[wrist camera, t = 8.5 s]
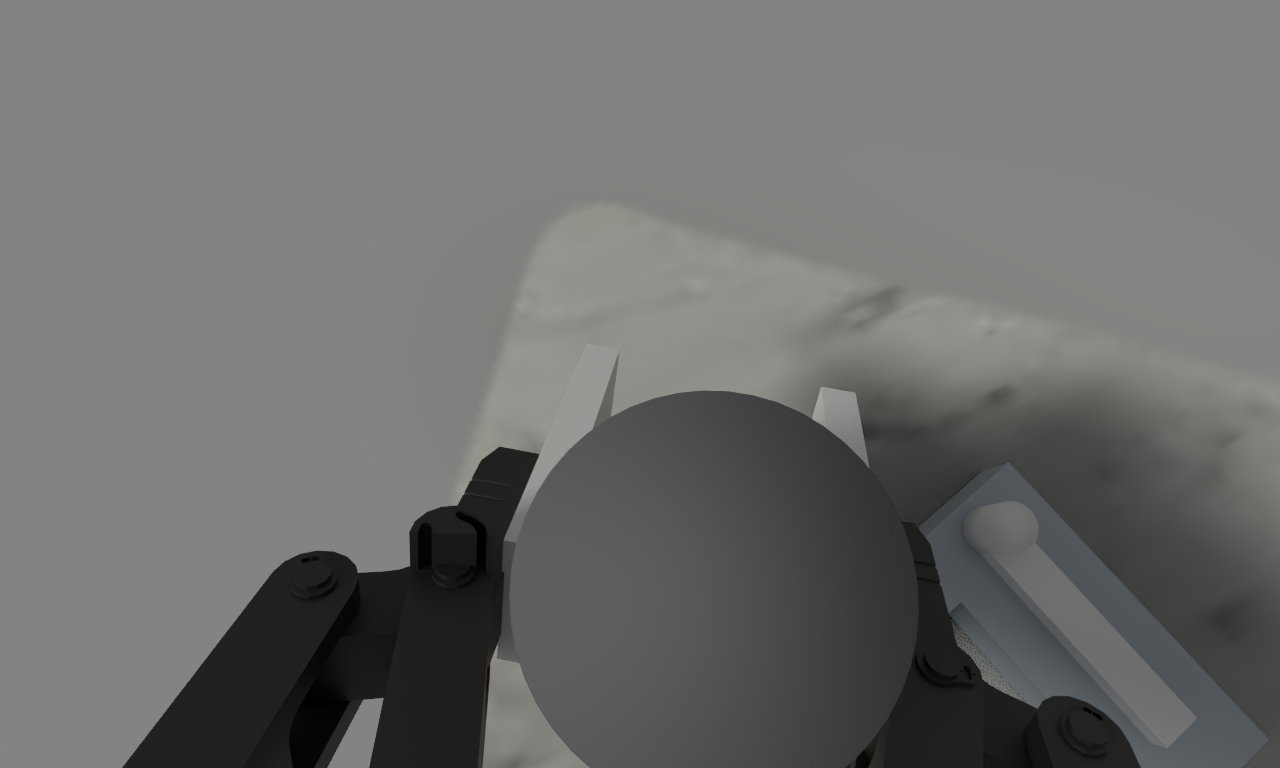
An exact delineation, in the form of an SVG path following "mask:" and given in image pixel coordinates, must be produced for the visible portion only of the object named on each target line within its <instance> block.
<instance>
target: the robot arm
mask: <svg viewBox="0 0 1280 768" xmlns="http://www.w3.org/2000/svg"><path fill="white" fill-rule="evenodd" d="M618 358H619V350H618V349H613V348H607V347H602V346H596V345H591V344H586V346H585V348H584V351H583V353H582V355H581V358H580V360H579V363H578V365H577V367H576V370H575V372H574V374H573V377H572V379H571V381H570V384H569V386H568V389H567V391H566V393H565V396H564V398H563V400H562V403H561V405H560V408H559V410H558V412H557V415H556V417H555V419H554V422H553V424H552V426H551V429H550V431H549V434H548V436H547V438H546V441H545V443H544V445H543V448H542V450H541V453H540V454H536V453H530V452H525V451H520V450H515V449H509V448H504V447H499V448H497V449H496V450H495V451H493V452H492V453H490V454H489V455H488V456H486V457H485V458H484V459H482V460H481V462H480V464H479V466H478V468H477V470H476V472H475V473H474V475H473V477H472V481H470V483H469V485H468V487H467V489H466V491H465V494H464V495H463V496H462V498H461V500H460V502H459V504H458V506H447V507H440V508H437V509H434V510H432V511H429V512H426V513H425V514H424V515H423V516H421V517H420V518H419V519H417V520H416V521H415V523H414V525H413V526H412V528H411V530H410V532H409V534H410V566H409V567H406V568H403V569H400V570H393V571H385V572H368V573H358V572H357V568H356V565H355V564H354V563H353V562H352V561H351V560H350V559H349V558H348V557H346V556H344V555H341V554H338V553H336V552H330V551H313V552H309V553H303V554H300V555H297V556H295V557H293V558H291V559H289V560H287V561H285V562H284V563H282V565H280V566H279V567H278V568H277V569H276V570H275V571H274V572H273V573H272V574H271V575H270V576H269V578H268V579H267V580H266V582H265V583H264V584H263V586H262V587H261V588H260V589H259V591H258V592H257V594H256V595H255V596H254V597H253V599H252V600H251V601H250V603H249V604H248V605H247V607H246V608H245V609H244V610H243V612H242V613H241V614H240V616H239V617H238V618H237V620H236V621H235V622H234V623H233V625H232V626H231V627H230V629H229V630H228V631H227V632H226V634H225V635H224V636H223V638H222V639H221V640H220V642H219V643H218V644H217V645H216V647H215V648H214V649H213V651H212V652H211V653H210V655H209V656H208V657H207V659H206V660H205V661H204V662H203V664H202V665H201V666H200V668H199V669H198V670H197V671H196V673H195V674H194V675H193V677H192V678H191V679H190V681H189V682H188V683H187V684H186V686H185V687H184V688H183V690H182V691H181V692H180V693H179V695H178V696H177V698H176V699H175V700H174V701H173V703H172V704H171V705H170V707H169V708H168V709H167V711H166V712H165V713H164V714H163V716H162V717H161V718H160V720H159V721H158V722H157V723H156V725H155V726H154V727H153V729H152V730H151V731H150V733H149V734H148V735H147V736H146V738H145V739H144V740H143V742H142V743H141V744H140V745H139V747H138V748H137V749H136V751H135V752H134V753H133V755H132V756H131V757H130V758H129V760H128V761H127V763H126V764H125V765H124V766H123V768H327V767H328V765H329V763H330V761H331V759H332V757H333V756H334V754H335V752H336V750H337V748H338V746H339V744H340V742H341V740H342V739H343V737H344V735H345V733H346V731H347V729H348V727H349V725H350V723H351V721H352V720H353V718H354V716H355V714H356V712H357V710H358V708H359V706H360V704H361V703H362V701H363V699H374V698H384V700H383V705H382V710H381V714H380V719H379V724H378V729H377V733H376V738H375V743H374V748H373V752H372V757H371V762H370V767H369V768H482V765H483V753H484V741H485V729H486V716H487V704H488V692H489V680H490V662H491V659H492V657H493V654H494V651H495V648H496V646H497V643H498V652H497V658H498V659H503V660H508V661H513V662H518V663H520V662H519V659H518V656H517V653H516V649H515V643H514V638H513V632H512V627H511V617H510V599H509V593H510V579H511V567H512V562H513V557H514V552H515V547H516V542H517V539H518V536H519V533H520V530H521V527H522V524H523V521H524V518H525V516H526V513H527V511H528V509H529V507H530V505H531V503H532V501H533V499H534V497H535V495H536V493H537V491H538V490H539V488H540V487H541V485H542V484H543V482H544V480H545V479H546V477H547V476H548V474H549V473H550V471H551V470H552V469H553V468H554V466H555V465H556V464H557V463H558V462H559V461H560V459H561V458H562V457H563V456H564V455H565V454H566V452H567V451H568V450H569V449H570V448H571V447H573V446H574V445H575V444H576V443H577V442H578V441H579V440H580V439H581V438H582V437H584V436H585V435H586V434H587V433H588V432H590V431H591V430H593V429H594V428H595V427H597V426H598V425H600V424H601V423H603V422H604V421H606V420H607V419H609V418H610V417H611V410H612V403H613V395H614V388H615V380H616V373H617V365H618ZM812 420H814V421H816V422H818V423H819V424H821V425H823V426H824V427H825V428H827V429H828V430H829V431H831V432H832V433H833V434H834V435H836V436H837V437H838V438H840V439H841V440H842V441H844V442H845V443H846V444H847V445H848V446H849V447H850V448H851V449H852V450H853V451H854V452H855V453H856V454H857V455H858V456H859V457H860V458H861V459H862V460H863V461H864V462H865V464H866V465H867V466H868V468H869V463H868V457H867V452H866V447H865V441H864V436H863V431H862V425H861V420H860V414H859V409H858V404H857V398H856V393H854V392H849V391H843V390H838V389H832V388H827V387H821V389H820V393H819V396H818V400H817V403H816V406H815V410H814V413H813V417H812ZM869 469H870V468H869ZM901 522H902V521H901ZM902 525H903V527H904V529H905V532H906V536H907V539H908V542H909V545H910V549H911V552H912V555H913V560H914V566H915V572H916V577H917V584H918V604H919V614H918V627H917V639H916V644H915V648H914V653H913V658H912V662H911V667H910V669H909V672H908V675H907V678H906V681H905V684H904V686H903V689H902V692H901V694H900V696H899V698H898V700H897V702H896V704H895V706H894V708H893V710H892V712H891V714H890V715H889V717H888V719H887V720H886V722H885V723H884V725H883V726H882V727H881V729H880V730H879V732H878V733H877V735H876V736H875V737H874V739H873V740H872V741H871V742H870V744H869V745H868V746H867V747H866V748H865V749H864V750H863V751H862V752H861V753H860V754H859V755H858V756H857V757H856V759H855V760H854V761H853V762H851V763H850V764H849V765H848V766H846V768H1141V767H1140V765H1139V763H1138V760H1137V758H1136V756H1135V754H1134V751H1133V749H1132V747H1131V745H1130V743H1129V741H1128V740H1127V738H1126V736H1125V735H1124V733H1123V732H1122V730H1121V729H1120V727H1119V726H1118V725H1117V724H1116V723H1115V722H1114V721H1112V720H1111V719H1110V718H1109V717H1108V716H1107V715H1106V714H1105V713H1104V712H1102V711H1101V710H1099V709H1097V708H1096V707H1094V706H1092V705H1091V704H1089V703H1087V702H1085V701H1082V700H1079V699H1076V698H1073V697H1070V696H1052V697H1050V698H1048V699H1046V700H1043V701H1042V702H1041V704H1040V706H1039V707H1038V709H1037V708H1035V707H1033V706H1031V705H1029V704H1027V703H1024V702H1022V701H1020V700H1018V699H1016V698H1014V697H1011V696H1009V695H1007V694H1005V693H1003V692H1001V691H999V690H997V689H996V688H994V687H992V686H990V685H989V684H988V683H986V682H985V681H984V680H982V676H981V672H980V670H979V668H978V667H977V666H976V664H975V663H974V661H973V660H972V658H971V657H970V656H969V655H967V654H966V653H965V652H964V651H963V650H962V649H960V648H959V647H958V646H957V644H956V640H955V636H954V632H953V628H952V625H951V621H950V617H949V613H948V609H947V605H946V602H945V598H944V594H943V590H942V586H940V579H939V575H938V571H937V569H935V566H936V563H935V559H934V556H933V552H932V548H931V544H930V543H929V542H928V540H927V539H926V538H925V536H924V535H923V534H922V532H921V531H920V530H919V528H918V527H917V526H916V525H915V524H913V523H908V522H902Z"/></svg>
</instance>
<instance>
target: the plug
mask: <svg viewBox="0 0 1280 768" xmlns="http://www.w3.org/2000/svg"><path fill="white" fill-rule="evenodd" d="M509 599H510V617H511V627H512V632H513V638H514V643H515V649H516V653H517V656H518V659H519V662H520V665H521V669H522V672H523V675H524V678H525V680H526V682H527V684H528V687H529V689H530V691H531V693H532V695H533V697H534V699H535V702H536V704H537V705H538V707H539V708H540V710H541V712H542V713H543V715H544V716H545V718H546V719H547V721H548V723H549V724H550V726H551V727H552V729H553V730H554V731H555V732H556V733H557V735H558V736H559V737H560V738H561V739H562V740H563V742H564V743H565V744H566V745H567V746H568V748H569V749H570V750H571V751H572V752H573V753H574V754H575V755H577V756H578V757H579V758H580V759H581V760H582V761H583V762H584V763H585V764H586V765H588V766H589V767H590V768H845V767H846V766H848V765H849V764H850V763H851V762H853V761H854V760H855V759H856V757H857V756H858V755H859V754H860V753H861V752H862V751H863V750H864V749H865V748H866V747H867V746H868V745H869V744H870V742H871V741H872V740H873V739H874V737H875V736H876V735H877V733H878V732H879V730H880V729H881V727H882V726H883V725H884V723H885V722H886V720H887V719H888V717H889V715H890V714H891V712H892V710H893V708H894V706H895V704H896V702H897V700H898V698H899V696H900V694H901V692H902V689H903V686H904V684H905V681H906V678H907V675H908V672H909V669H910V667H911V662H912V658H913V653H914V648H915V644H916V639H917V627H918V614H919V604H918V584H917V577H916V572H915V566H914V560H913V555H912V552H911V549H910V545H909V542H908V539H907V536H906V532H905V529H904V527H903V525H902V522H901V520H900V518H899V516H898V514H897V511H896V509H895V507H894V505H893V503H892V501H891V500H890V498H889V496H888V495H887V493H886V491H885V490H884V488H883V486H882V485H881V483H880V482H879V480H878V479H877V478H876V476H875V475H874V474H873V473H872V471H871V470H870V469H869V468H868V466H867V465H866V464H865V462H864V461H863V460H862V459H861V458H860V457H859V456H858V455H857V454H856V453H855V452H854V451H853V450H852V449H851V448H850V447H849V446H848V445H847V444H846V443H845V442H844V441H842V440H841V439H840V438H838V437H837V436H836V435H834V434H833V433H832V432H831V431H829V430H828V429H827V428H825V427H824V426H823V425H821V424H819V423H818V422H816V421H814V420H812V419H811V418H809V417H807V416H806V415H804V414H802V413H800V412H798V411H796V410H793V409H791V408H789V407H787V406H784V405H782V404H780V403H777V402H774V401H770V400H767V399H764V398H760V397H757V396H753V395H747V394H741V393H735V392H728V391H695V392H684V393H676V394H672V395H668V396H663V397H659V398H654V399H651V400H649V401H646V402H643V403H640V404H638V405H635V406H632V407H630V408H628V409H626V410H624V411H622V412H620V413H618V414H616V415H614V416H612V417H610V418H609V419H607V420H606V421H604V422H603V423H601V424H600V425H598V426H597V427H595V428H594V429H593V430H591V431H590V432H588V433H587V434H586V435H585V436H584V437H582V438H581V439H580V440H579V441H578V442H577V443H576V444H575V445H574V446H573V447H571V448H570V449H569V450H568V451H567V452H566V454H565V455H564V456H563V457H562V458H561V459H560V461H559V462H558V463H557V464H556V465H555V466H554V468H553V469H552V470H551V471H550V473H549V474H548V476H547V477H546V479H545V480H544V482H543V484H542V485H541V487H540V488H539V490H538V491H537V493H536V495H535V497H534V499H533V501H532V503H531V505H530V507H529V509H528V511H527V513H526V516H525V518H524V521H523V524H522V527H521V530H520V533H519V536H518V539H517V542H516V547H515V552H514V557H513V562H512V567H511V579H510V593H509Z"/></svg>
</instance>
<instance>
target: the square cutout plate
mask: <svg viewBox="0 0 1280 768" xmlns="http://www.w3.org/2000/svg"><path fill="white" fill-rule="evenodd" d="M918 528H919V530H920V531H921V532H922V534H923V535H924V536H925V538H926V539H927V540H928V542H929V543H930V544H931V548H932V552H933V556H934V559H935V563H936V566H935V569H937V571H938V575H939V579H940V586H942V590H943V594H944V598H945V602H946V605H947V609H948V613H949V615H950V616H951V617H952V619H953V620H954V621H955V622H956V623H957V624H958V625H959V627H960V628H961V629H962V630H963V631H964V632H965V633H966V635H967V636H968V637H969V638H970V639H971V640H972V641H973V643H974V644H975V645H976V646H977V647H978V648H979V649H980V650H981V652H982V653H983V654H984V655H985V656H986V657H987V658H988V660H989V661H990V662H991V663H992V664H993V665H994V666H995V668H996V669H997V670H998V671H999V672H1000V673H1001V674H1002V676H1003V677H1004V678H1005V679H1006V680H1007V681H1008V682H1009V684H1010V685H1011V686H1012V687H1013V688H1014V689H1015V690H1016V692H1017V693H1018V694H1019V695H1020V696H1021V697H1022V698H1023V700H1024V701H1025V702H1026V703H1027V704H1029V705H1031V706H1033V707H1035V708H1037V709H1038V707H1039V706H1040V704H1041V702H1042V701H1043V700H1046V699H1048V698H1050V697H1052V696H1070V697H1073V698H1076V699H1079V700H1082V701H1085V702H1087V703H1089V704H1091V705H1092V706H1094V707H1096V708H1097V709H1099V710H1101V711H1102V712H1104V713H1105V714H1106V715H1107V716H1108V717H1109V718H1110V719H1111V720H1112V721H1114V722H1115V723H1116V724H1117V725H1118V726H1119V727H1120V729H1121V730H1122V732H1123V733H1124V735H1125V736H1126V738H1127V740H1128V741H1129V743H1130V745H1131V747H1132V749H1133V751H1134V754H1135V756H1136V758H1137V760H1138V763H1139V765H1140V767H1141V768H1243V767H1244V766H1245V765H1246V764H1247V763H1248V762H1249V761H1250V760H1251V759H1252V758H1253V757H1254V756H1255V755H1256V753H1257V752H1258V751H1259V750H1260V749H1261V748H1262V747H1263V746H1264V745H1265V744H1266V743H1267V742H1268V741H1269V739H1268V737H1267V736H1266V735H1265V734H1264V733H1263V732H1262V731H1261V730H1260V729H1259V728H1258V727H1257V726H1256V725H1255V724H1254V723H1253V722H1252V720H1251V719H1250V718H1249V717H1248V716H1247V715H1246V714H1245V713H1244V712H1243V711H1242V710H1241V709H1240V708H1239V707H1238V706H1237V704H1236V703H1235V702H1234V701H1233V700H1232V699H1231V698H1230V697H1229V696H1228V695H1227V694H1226V693H1225V692H1224V691H1223V690H1222V688H1221V687H1220V686H1219V685H1218V684H1217V683H1216V682H1215V681H1214V680H1213V679H1212V678H1211V677H1210V676H1209V675H1208V674H1207V672H1206V671H1205V670H1204V669H1203V668H1202V667H1201V666H1200V665H1199V664H1198V663H1197V662H1196V661H1195V660H1194V659H1193V658H1192V656H1191V655H1190V654H1189V653H1188V652H1187V651H1186V650H1185V649H1184V648H1183V647H1182V646H1181V645H1180V644H1179V643H1178V642H1177V641H1176V639H1175V638H1174V637H1173V636H1172V635H1171V634H1170V633H1169V632H1168V631H1167V630H1166V629H1165V628H1164V627H1163V626H1162V625H1161V623H1160V622H1159V621H1158V620H1157V619H1156V618H1155V617H1154V616H1153V615H1152V614H1151V613H1150V612H1149V611H1148V610H1147V609H1146V607H1145V606H1144V605H1143V604H1142V603H1141V602H1140V601H1139V600H1138V599H1137V598H1136V597H1135V596H1134V595H1133V594H1132V593H1131V591H1130V590H1129V589H1128V588H1127V587H1126V586H1125V585H1124V584H1123V583H1122V582H1121V581H1120V580H1119V579H1118V578H1117V577H1116V575H1115V574H1114V573H1113V572H1112V571H1111V570H1110V569H1109V568H1108V567H1107V566H1106V565H1105V564H1104V563H1103V562H1102V561H1101V559H1100V558H1099V557H1098V556H1097V555H1096V554H1095V553H1094V552H1093V551H1092V550H1091V549H1090V548H1089V547H1088V546H1087V545H1086V544H1085V542H1084V541H1083V540H1082V539H1081V538H1080V537H1079V536H1078V535H1077V534H1076V533H1075V532H1074V531H1073V530H1072V529H1071V528H1070V526H1069V525H1068V524H1067V523H1066V522H1065V521H1064V520H1063V519H1062V518H1061V517H1060V516H1059V515H1058V514H1057V513H1056V512H1055V510H1054V509H1053V508H1052V507H1051V506H1050V505H1049V504H1048V503H1047V502H1046V501H1045V500H1044V499H1043V498H1042V497H1041V496H1040V494H1039V493H1038V492H1037V491H1036V490H1035V489H1034V488H1033V487H1032V486H1031V485H1030V484H1029V483H1028V482H1027V481H1026V480H1025V478H1024V477H1023V476H1022V475H1021V474H1020V473H1019V472H1018V471H1017V470H1016V469H1015V468H1014V467H1013V466H1012V465H1011V464H1010V463H1009V462H1008V463H1005V464H1002V465H998V466H995V467H992V468H989V469H986V470H983V471H981V472H980V473H979V474H978V475H977V476H976V477H975V478H973V479H972V480H971V481H970V482H969V483H968V484H967V485H966V486H964V487H963V488H962V489H961V490H960V491H959V492H958V493H956V494H955V495H954V496H953V497H952V498H951V499H950V500H949V501H947V502H946V503H945V504H944V505H943V506H942V507H941V508H940V509H938V510H937V511H936V512H935V513H934V514H933V515H932V516H930V517H929V518H928V519H927V520H926V521H925V522H924V523H923V524H921V525H920V526H919V527H918Z"/></svg>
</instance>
